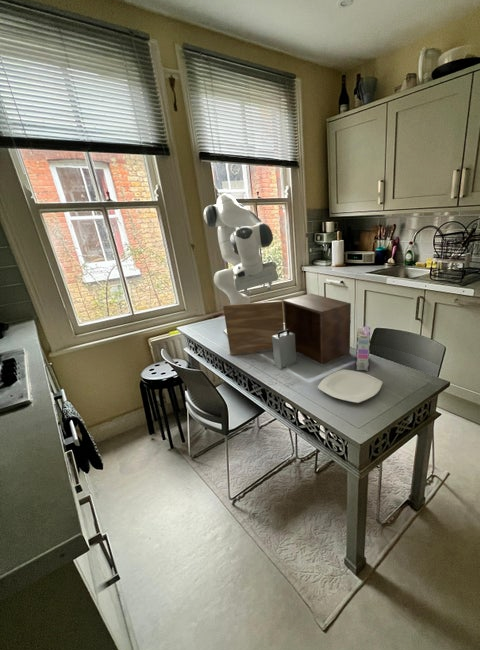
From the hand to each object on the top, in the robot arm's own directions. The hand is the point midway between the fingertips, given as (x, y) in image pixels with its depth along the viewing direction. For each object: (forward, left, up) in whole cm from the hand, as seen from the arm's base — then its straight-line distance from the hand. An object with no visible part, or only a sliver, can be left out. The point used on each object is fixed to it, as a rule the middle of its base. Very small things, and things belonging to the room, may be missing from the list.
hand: (259, 292), depth 148 cm
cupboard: (+16, +21, -32) cm, 42 cm away
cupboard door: (-8, 0, -32) cm, 33 cm away
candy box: (+41, +27, -32) cm, 59 cm away
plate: (+52, +7, -32) cm, 62 cm away
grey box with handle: (+16, +1, -32) cm, 36 cm away
